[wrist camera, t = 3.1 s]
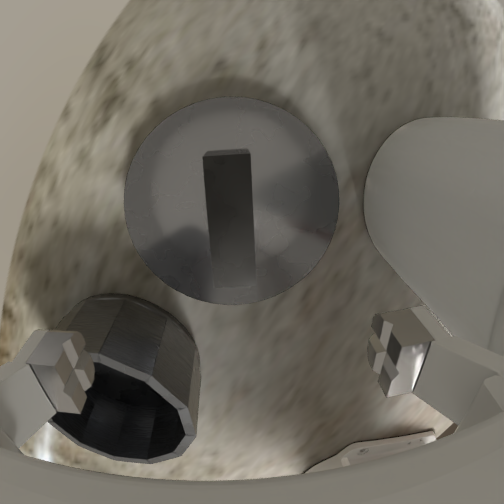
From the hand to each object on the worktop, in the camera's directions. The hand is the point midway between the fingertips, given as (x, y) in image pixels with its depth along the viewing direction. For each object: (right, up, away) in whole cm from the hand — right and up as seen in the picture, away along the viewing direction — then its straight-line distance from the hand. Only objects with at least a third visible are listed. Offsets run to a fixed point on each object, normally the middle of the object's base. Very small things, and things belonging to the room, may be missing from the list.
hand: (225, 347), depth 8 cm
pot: (-11, -7, +20) cm, 24 cm away
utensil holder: (+16, +7, +16) cm, 24 cm away
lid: (-1, +6, +15) cm, 17 cm away
